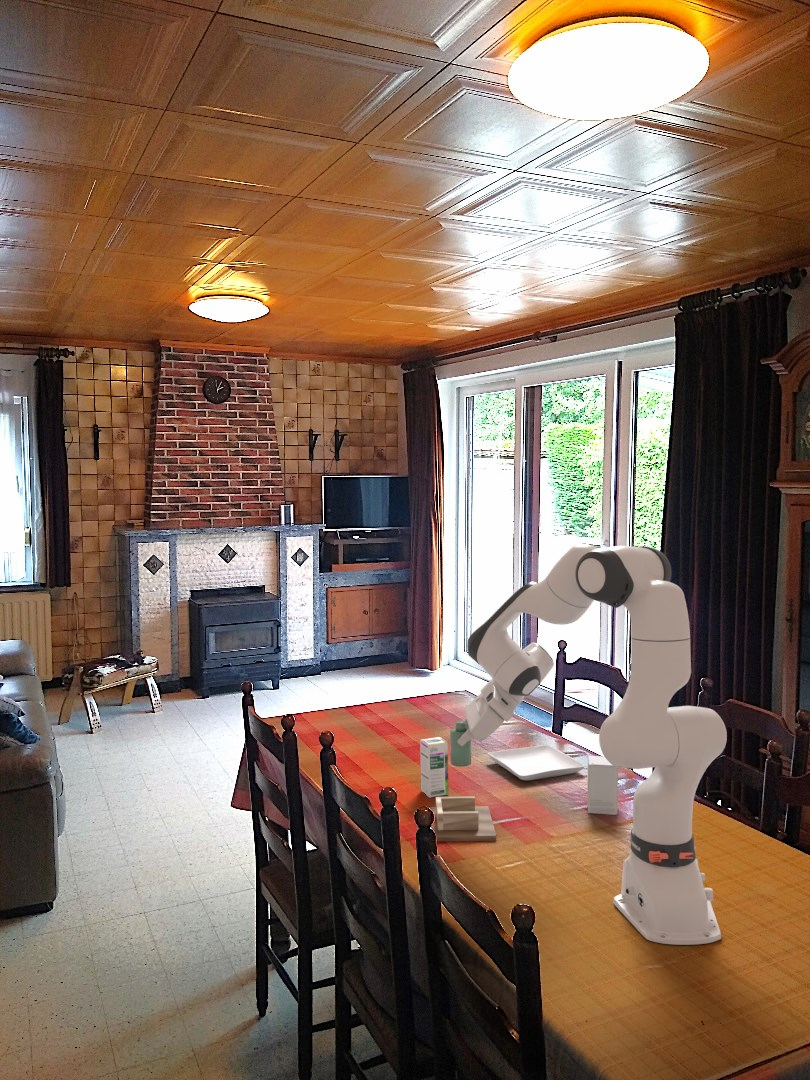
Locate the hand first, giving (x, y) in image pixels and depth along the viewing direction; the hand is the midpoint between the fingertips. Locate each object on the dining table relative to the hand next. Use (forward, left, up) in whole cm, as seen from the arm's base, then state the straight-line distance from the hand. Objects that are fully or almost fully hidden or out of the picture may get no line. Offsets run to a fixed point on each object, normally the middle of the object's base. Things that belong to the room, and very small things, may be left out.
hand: (458, 739), depth 209 cm
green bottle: (0, -1, -6) cm, 6 cm away
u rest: (0, 0, -21) cm, 21 cm away
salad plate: (+40, -25, -22) cm, 52 cm away
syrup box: (+22, +5, -22) cm, 31 cm away
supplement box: (+9, -37, -22) cm, 44 cm away
